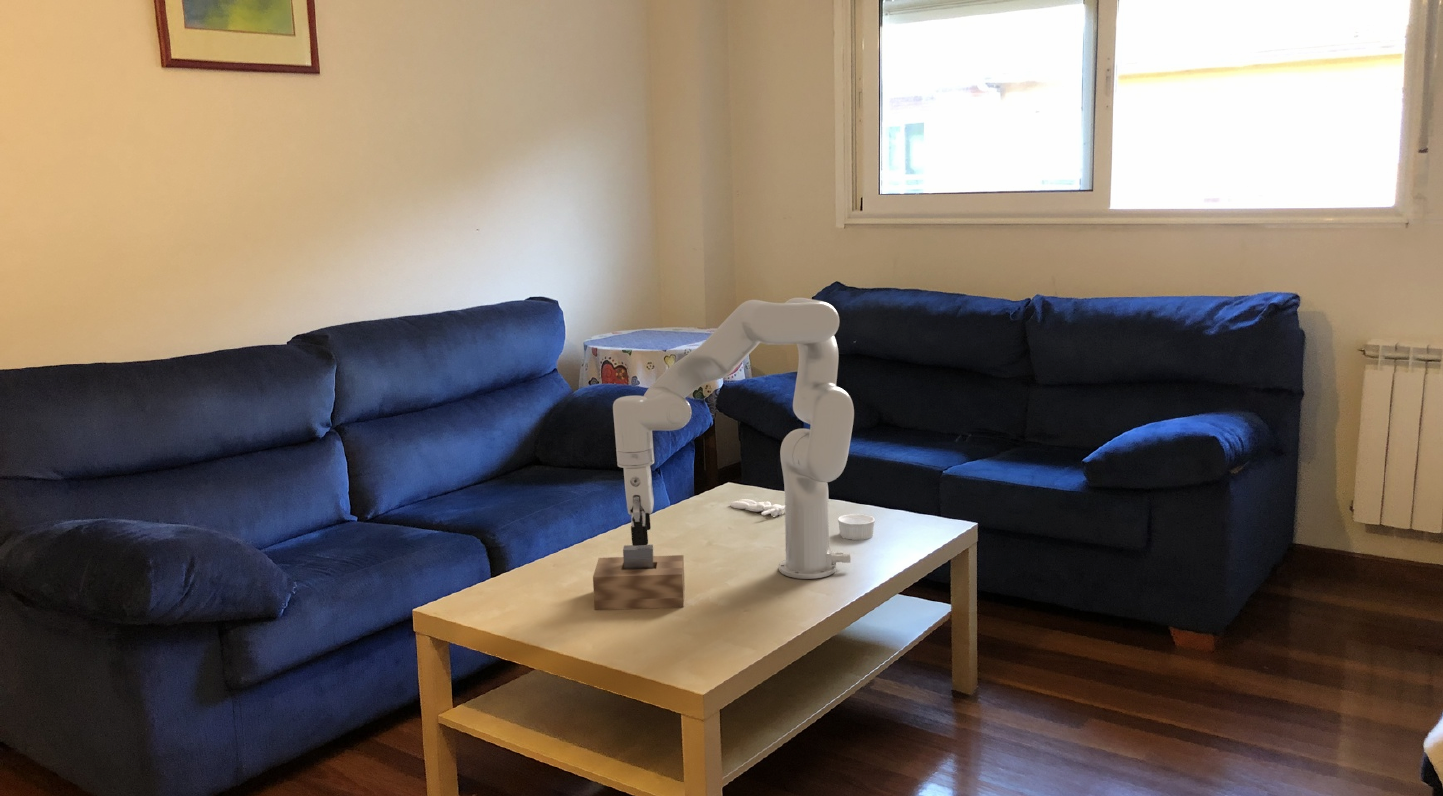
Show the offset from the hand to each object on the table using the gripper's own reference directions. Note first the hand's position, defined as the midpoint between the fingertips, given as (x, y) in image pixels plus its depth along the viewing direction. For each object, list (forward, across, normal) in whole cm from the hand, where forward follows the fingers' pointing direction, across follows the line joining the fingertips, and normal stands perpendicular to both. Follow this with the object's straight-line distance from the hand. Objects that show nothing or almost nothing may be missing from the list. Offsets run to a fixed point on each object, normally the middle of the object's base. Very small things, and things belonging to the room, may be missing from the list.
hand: (641, 537), depth 226 cm
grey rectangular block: (+11, 0, +1) cm, 11 cm away
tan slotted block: (+13, 0, +1) cm, 13 cm away
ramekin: (+16, +38, -49) cm, 63 cm away
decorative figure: (+15, +61, -26) cm, 68 cm away
